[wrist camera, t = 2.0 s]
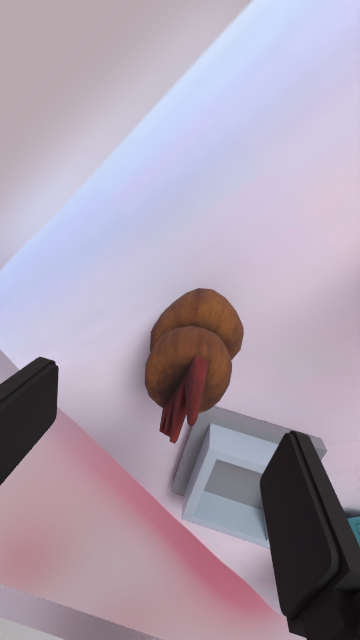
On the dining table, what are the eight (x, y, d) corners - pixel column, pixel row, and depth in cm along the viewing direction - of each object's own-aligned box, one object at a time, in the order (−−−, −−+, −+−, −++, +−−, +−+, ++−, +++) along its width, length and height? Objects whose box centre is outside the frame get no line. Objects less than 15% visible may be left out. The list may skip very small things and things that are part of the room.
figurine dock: (321, 438, 24) (341, 480, 20) (273, 513, 29) (282, 559, 25) (200, 401, 25) (196, 435, 21) (173, 479, 30) (166, 519, 26)
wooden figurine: (209, 267, 20) (185, 343, 6) (250, 317, 21) (304, 477, 7) (154, 313, 23) (49, 441, 9) (192, 356, 24) (152, 534, 10)
